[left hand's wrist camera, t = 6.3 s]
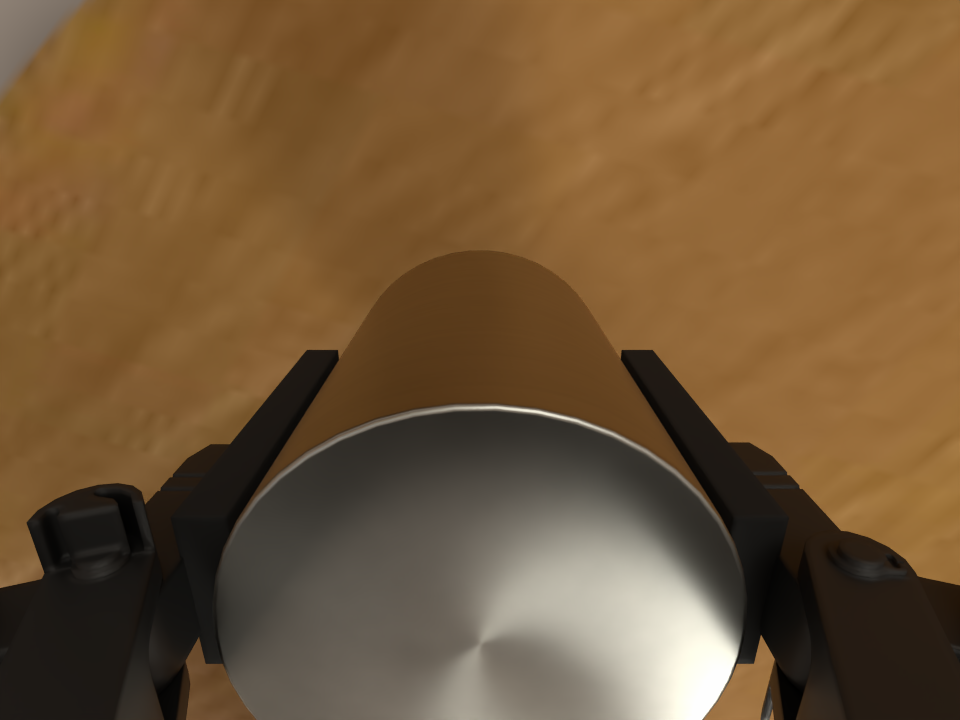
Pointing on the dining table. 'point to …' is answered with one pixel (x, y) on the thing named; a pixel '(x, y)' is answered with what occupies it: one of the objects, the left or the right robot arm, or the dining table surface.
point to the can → (479, 526)
